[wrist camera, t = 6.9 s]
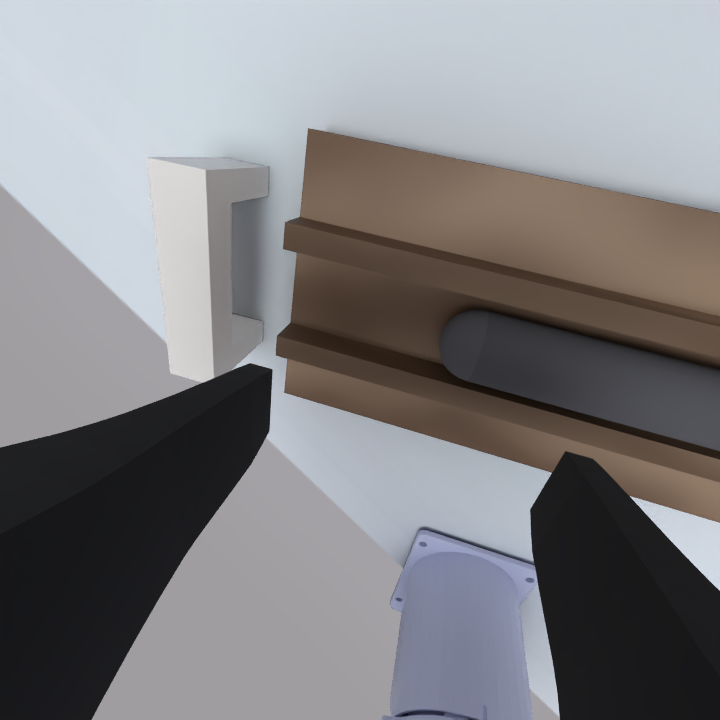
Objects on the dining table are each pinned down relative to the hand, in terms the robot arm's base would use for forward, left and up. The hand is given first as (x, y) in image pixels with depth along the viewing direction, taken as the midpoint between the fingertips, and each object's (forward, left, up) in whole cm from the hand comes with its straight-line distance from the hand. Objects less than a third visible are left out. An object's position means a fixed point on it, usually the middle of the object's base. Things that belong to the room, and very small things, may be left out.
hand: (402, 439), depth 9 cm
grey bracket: (0, +10, -10) cm, 14 cm away
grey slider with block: (0, -9, -8) cm, 12 cm away
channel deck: (0, -6, -10) cm, 11 cm away
